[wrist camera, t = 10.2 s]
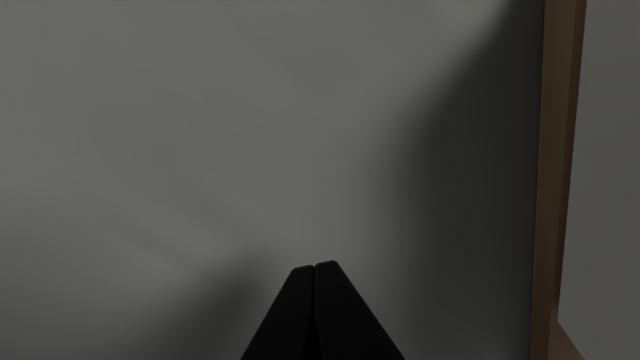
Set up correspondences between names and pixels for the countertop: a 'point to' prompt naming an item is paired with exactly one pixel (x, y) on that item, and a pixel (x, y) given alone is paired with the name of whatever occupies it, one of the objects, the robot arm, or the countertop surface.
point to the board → (555, 173)
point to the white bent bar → (605, 190)
